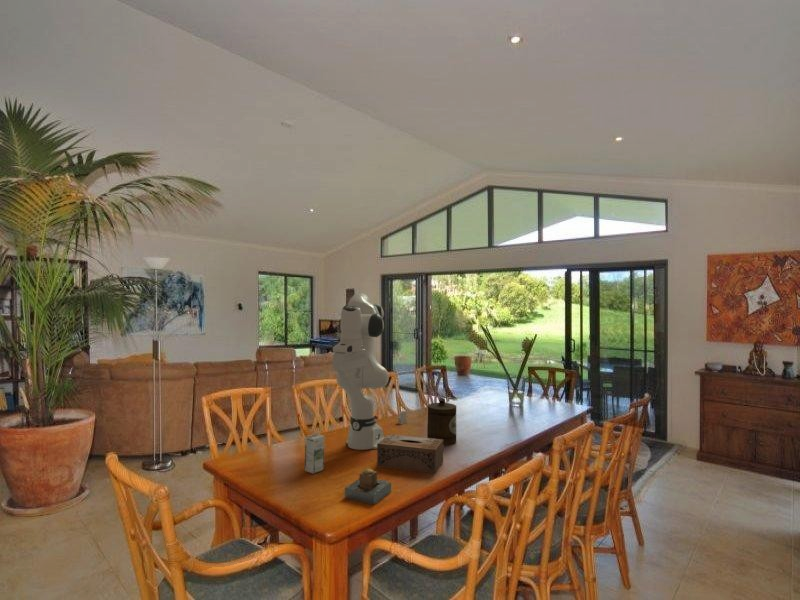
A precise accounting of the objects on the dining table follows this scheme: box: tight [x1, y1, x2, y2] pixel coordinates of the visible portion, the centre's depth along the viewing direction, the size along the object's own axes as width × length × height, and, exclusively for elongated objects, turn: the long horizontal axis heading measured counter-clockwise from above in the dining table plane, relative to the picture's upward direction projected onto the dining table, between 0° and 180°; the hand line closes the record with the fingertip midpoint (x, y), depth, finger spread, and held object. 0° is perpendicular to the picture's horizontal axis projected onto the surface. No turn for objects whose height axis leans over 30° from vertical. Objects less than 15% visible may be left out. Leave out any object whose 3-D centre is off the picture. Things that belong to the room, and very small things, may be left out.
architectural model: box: [396, 410, 408, 425], centre depth 254 cm, size 3×7×7 cm, turn 145°
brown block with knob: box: [359, 468, 378, 490], centre depth 157 cm, size 5×5×9 cm
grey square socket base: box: [344, 477, 392, 506], centre depth 157 cm, size 12×12×4 cm
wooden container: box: [426, 397, 457, 447], centre depth 220 cm, size 15×15×22 cm
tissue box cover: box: [376, 433, 444, 474], centre depth 188 cm, size 26×14×10 cm, turn 72°
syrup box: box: [304, 433, 325, 474], centre depth 180 cm, size 6×6×14 cm
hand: (351, 380), depth 175 cm, fingers open, 8 cm apart
